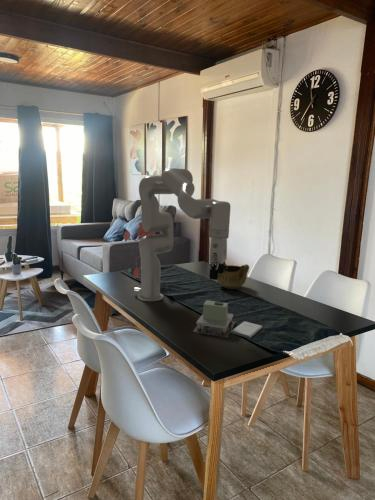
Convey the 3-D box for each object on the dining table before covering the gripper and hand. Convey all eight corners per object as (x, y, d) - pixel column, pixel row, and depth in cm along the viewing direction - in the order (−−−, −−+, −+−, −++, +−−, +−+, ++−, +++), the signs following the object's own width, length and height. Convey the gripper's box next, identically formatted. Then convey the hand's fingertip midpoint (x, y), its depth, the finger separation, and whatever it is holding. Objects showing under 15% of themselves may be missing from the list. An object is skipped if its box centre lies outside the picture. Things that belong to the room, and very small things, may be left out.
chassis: (192, 332, 145) (193, 322, 144) (203, 317, 160) (204, 309, 159) (227, 337, 141) (228, 327, 140) (235, 322, 156) (236, 313, 155)
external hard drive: (230, 334, 145) (243, 324, 156) (249, 339, 141) (262, 329, 151) (230, 330, 145) (244, 320, 155) (249, 335, 141) (262, 325, 151)
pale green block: (202, 318, 149) (203, 302, 148) (206, 314, 154) (206, 299, 152) (224, 321, 146) (225, 305, 145) (227, 317, 151) (228, 301, 150)
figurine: (120, 278, 218) (121, 219, 210) (159, 273, 231) (161, 217, 224) (131, 285, 205) (131, 222, 198) (171, 279, 219) (173, 221, 211)
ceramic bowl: (256, 290, 202) (258, 263, 199) (233, 295, 191) (235, 267, 189) (228, 280, 219) (229, 255, 216) (206, 285, 209) (207, 259, 206)
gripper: (223, 238, 134) (220, 283, 137) (232, 231, 150) (230, 271, 154) (203, 236, 136) (201, 280, 140) (214, 229, 152) (212, 269, 156)
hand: (216, 276), depth 147 cm, fingers open, 9 cm apart
